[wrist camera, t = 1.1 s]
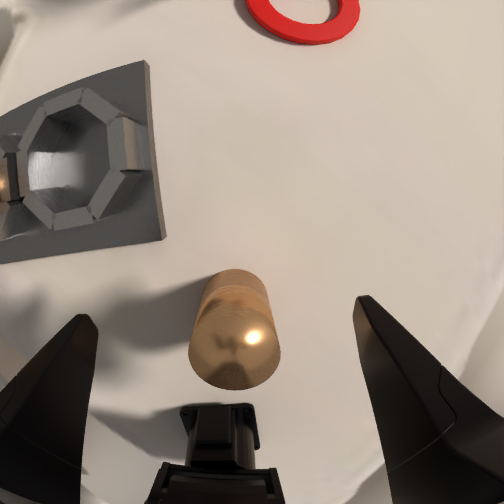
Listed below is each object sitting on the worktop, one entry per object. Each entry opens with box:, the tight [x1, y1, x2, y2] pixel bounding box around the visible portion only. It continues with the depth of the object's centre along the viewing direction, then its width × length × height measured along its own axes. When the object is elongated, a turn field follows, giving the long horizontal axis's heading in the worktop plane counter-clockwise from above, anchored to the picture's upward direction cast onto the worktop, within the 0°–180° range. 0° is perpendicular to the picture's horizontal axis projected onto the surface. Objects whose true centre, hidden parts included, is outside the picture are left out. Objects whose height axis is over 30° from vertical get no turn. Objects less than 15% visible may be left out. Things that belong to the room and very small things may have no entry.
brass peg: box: [188, 269, 280, 390], centre depth 17 cm, size 4×4×7 cm
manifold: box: [0, 60, 167, 264], centre depth 14 cm, size 18×12×8 cm, turn 96°
